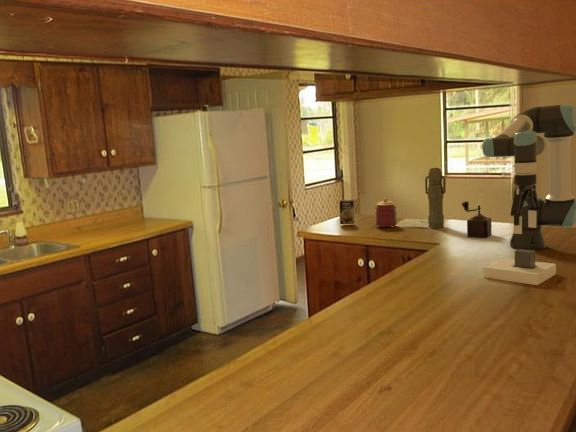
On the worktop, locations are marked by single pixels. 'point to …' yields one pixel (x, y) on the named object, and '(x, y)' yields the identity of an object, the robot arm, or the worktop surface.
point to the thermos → (435, 197)
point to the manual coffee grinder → (477, 224)
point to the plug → (525, 258)
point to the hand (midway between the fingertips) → (525, 230)
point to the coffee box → (347, 212)
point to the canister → (386, 213)
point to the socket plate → (519, 271)
